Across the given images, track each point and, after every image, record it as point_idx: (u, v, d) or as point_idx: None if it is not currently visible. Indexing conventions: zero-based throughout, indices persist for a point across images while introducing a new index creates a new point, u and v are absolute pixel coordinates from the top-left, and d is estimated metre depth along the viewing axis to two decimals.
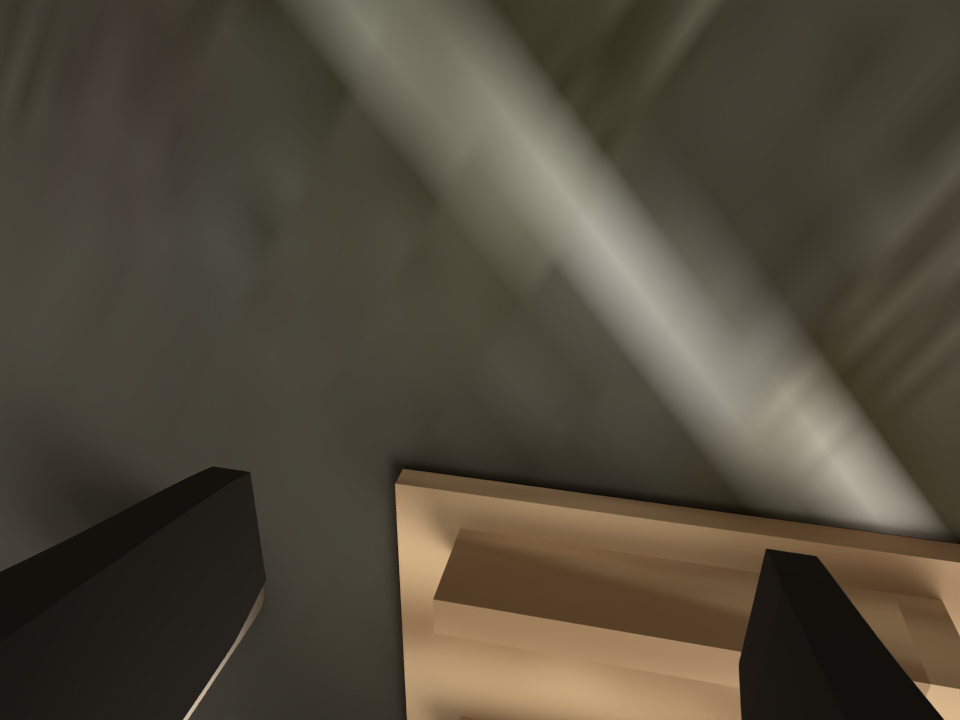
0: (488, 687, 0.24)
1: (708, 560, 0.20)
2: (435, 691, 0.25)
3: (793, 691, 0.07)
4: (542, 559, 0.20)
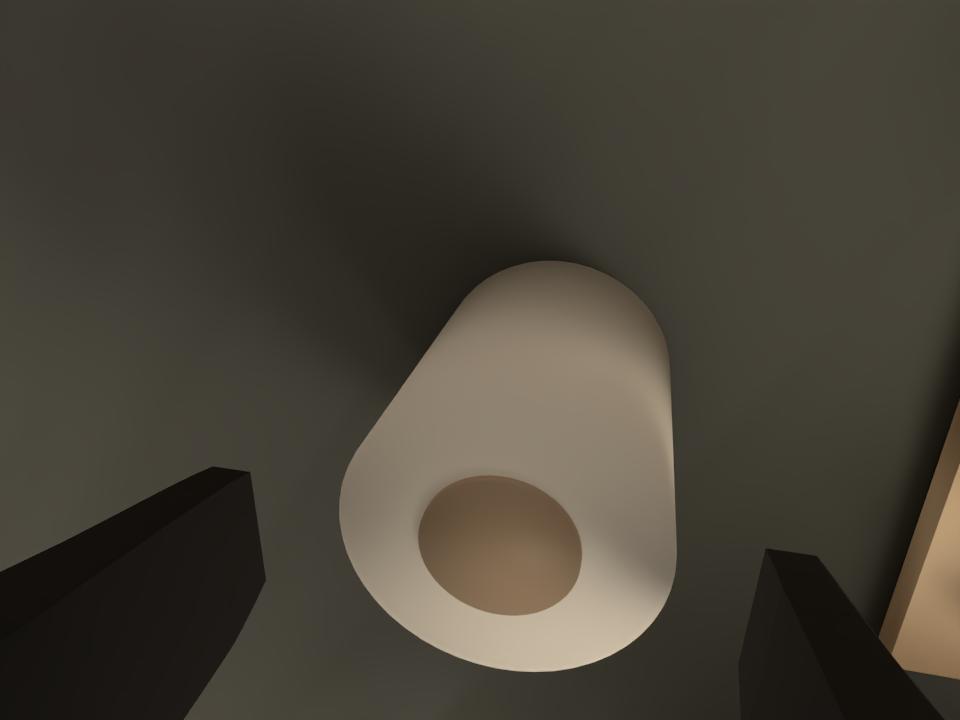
0: None
1: None
2: None
3: (793, 690, 0.07)
4: None
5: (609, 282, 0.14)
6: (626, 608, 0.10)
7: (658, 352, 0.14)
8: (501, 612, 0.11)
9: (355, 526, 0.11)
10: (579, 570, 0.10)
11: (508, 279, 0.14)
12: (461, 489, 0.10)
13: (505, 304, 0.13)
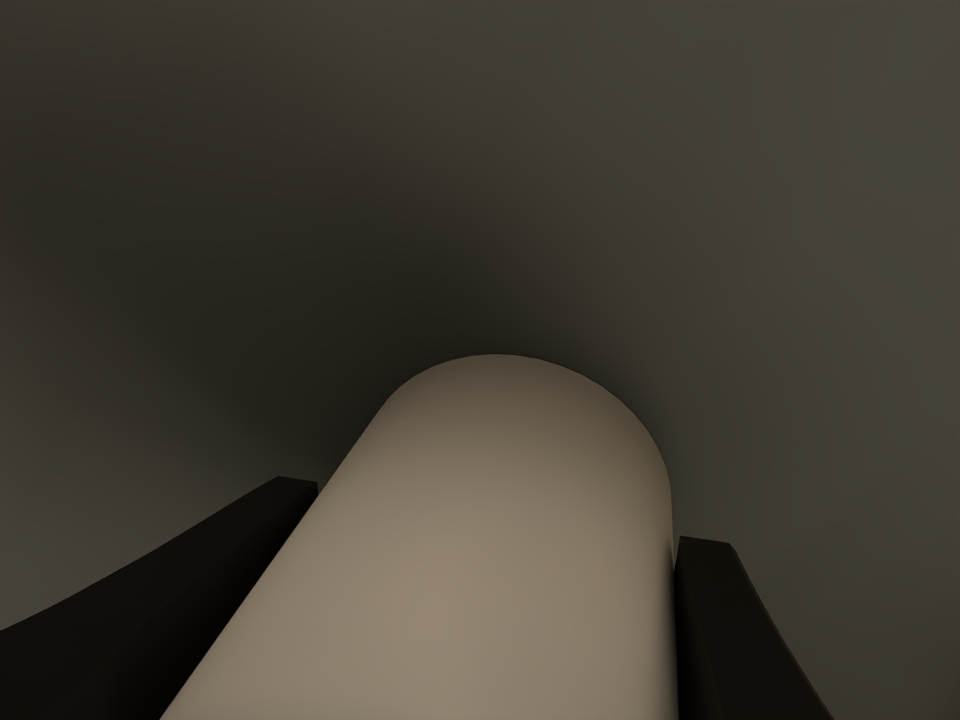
0: None
1: None
2: None
3: (689, 671, 0.08)
4: None
5: (584, 391, 0.10)
6: None
7: (655, 501, 0.09)
8: None
9: None
10: None
11: (438, 388, 0.10)
12: None
13: (421, 444, 0.08)
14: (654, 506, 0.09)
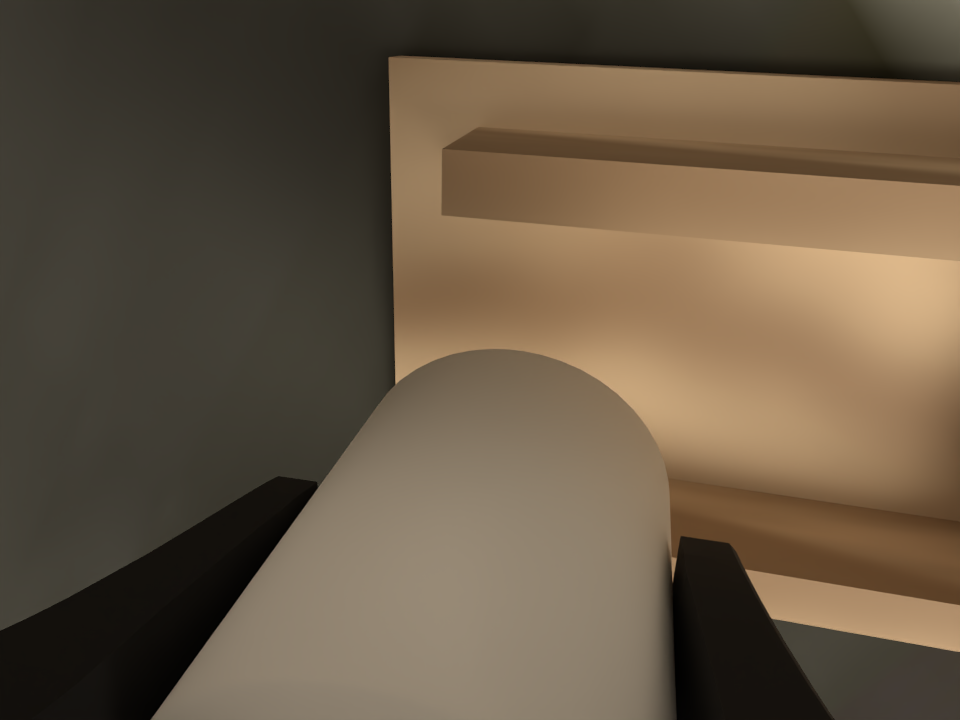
0: None
1: (835, 140, 0.14)
2: None
3: (690, 671, 0.08)
4: (597, 140, 0.14)
5: (584, 386, 0.10)
6: None
7: (654, 496, 0.09)
8: None
9: None
10: None
11: (439, 381, 0.10)
12: None
13: (422, 437, 0.08)
14: (653, 501, 0.09)
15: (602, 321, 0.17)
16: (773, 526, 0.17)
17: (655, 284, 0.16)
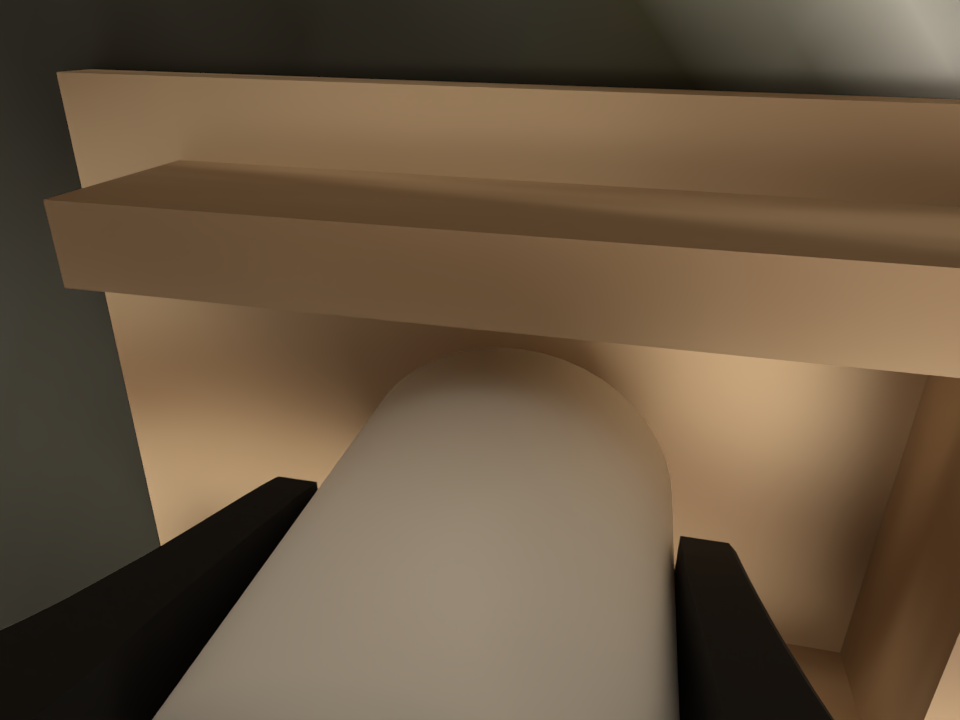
0: None
1: (618, 173, 0.10)
2: (196, 507, 0.15)
3: (689, 671, 0.08)
4: (304, 178, 0.11)
5: (586, 385, 0.10)
6: None
7: (656, 495, 0.09)
8: None
9: None
10: None
11: (441, 380, 0.10)
12: None
13: (425, 434, 0.08)
14: (655, 500, 0.09)
15: (368, 402, 0.13)
16: None
17: (424, 357, 0.12)
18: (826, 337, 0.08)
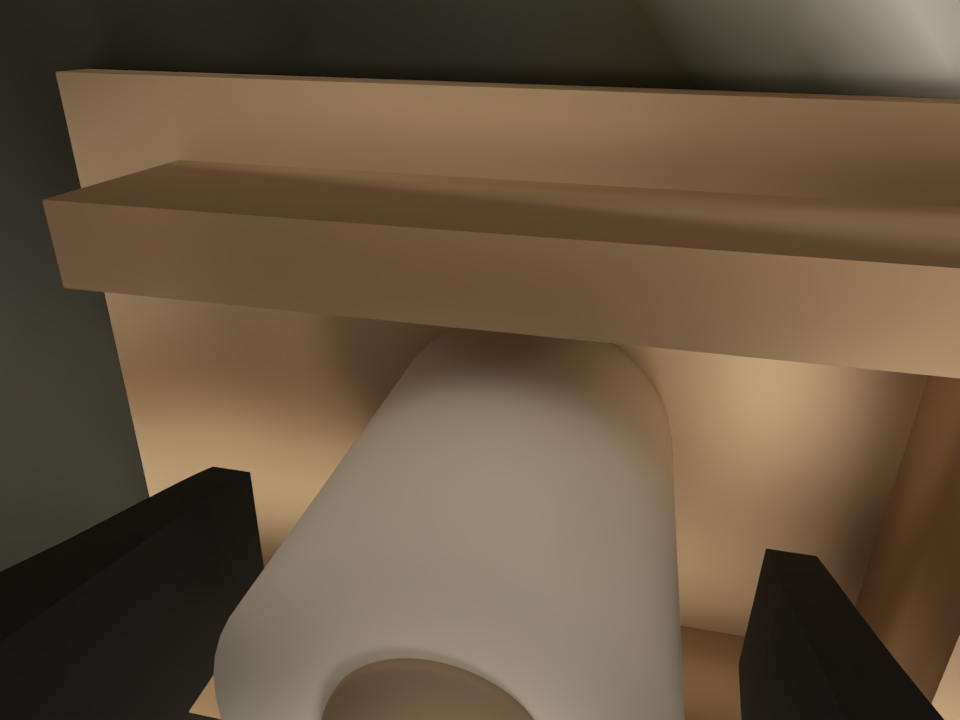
0: (274, 493, 0.15)
1: (618, 173, 0.10)
2: None
3: (793, 690, 0.07)
4: (303, 178, 0.11)
5: (596, 344, 0.11)
6: None
7: (658, 438, 0.11)
8: None
9: (237, 707, 0.08)
10: None
11: (467, 339, 0.11)
12: (376, 678, 0.07)
13: (458, 380, 0.10)
14: (658, 442, 0.10)
15: (368, 402, 0.13)
16: None
17: None
18: (826, 337, 0.08)
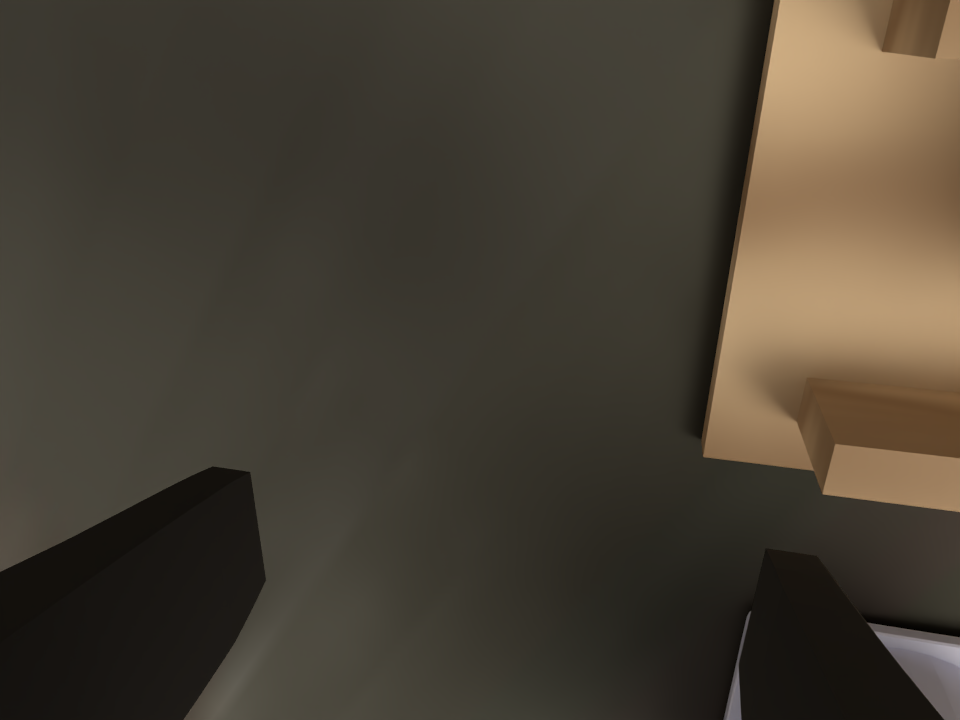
0: (868, 315, 0.16)
1: None
2: (773, 335, 0.17)
3: (793, 690, 0.07)
4: None
5: None
6: None
7: None
8: None
9: None
10: None
11: None
12: None
13: None
14: None
15: None
16: None
17: None
18: None
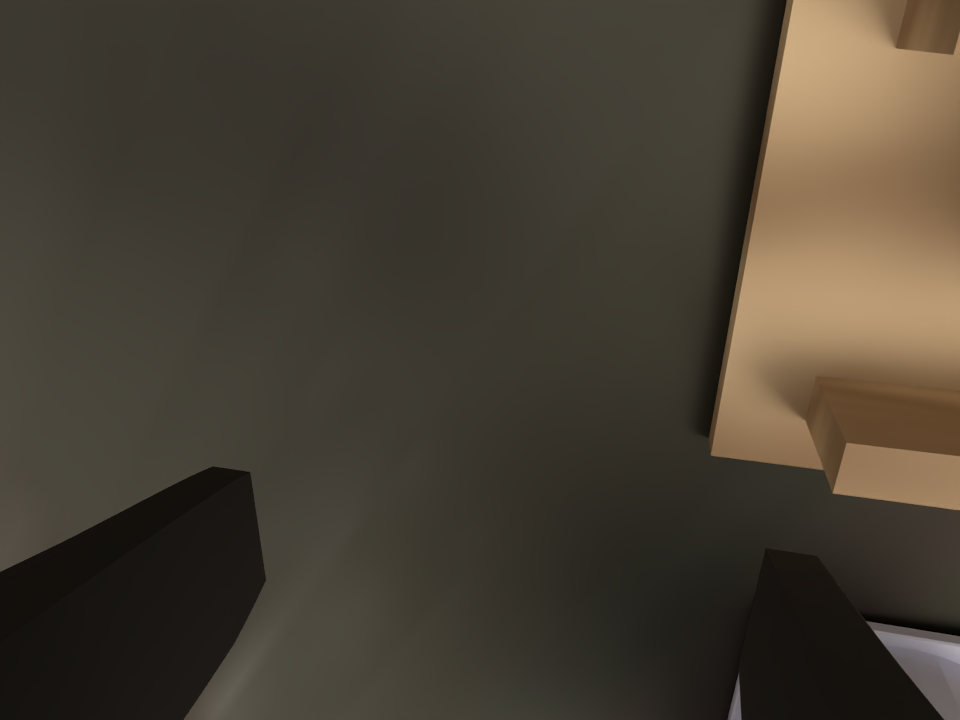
0: (878, 313, 0.16)
1: None
2: (783, 333, 0.16)
3: (793, 690, 0.07)
4: None
5: None
6: None
7: None
8: None
9: None
10: None
11: None
12: None
13: None
14: None
15: None
16: None
17: None
18: None
